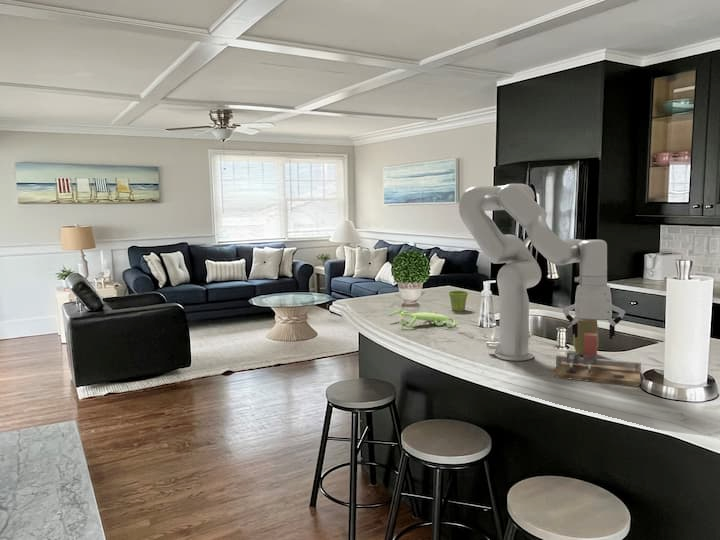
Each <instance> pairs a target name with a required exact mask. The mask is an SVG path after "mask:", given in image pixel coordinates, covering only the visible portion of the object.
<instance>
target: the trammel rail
mask: <svg viewBox="0 0 720 540" xmlns="http://www.w3.org/2000/svg"><path fill="white" fill-rule="evenodd" d="M562 362H567V363H570V371H572V368H573V363H574V364H578V363H582V364H584V356H582V357H581V356H580V355H579V352H577V351H574V350H567V351H566V355H561V354H559V355H558V354H557V355H556V357H555V365H556V366H557V365H561V364H562ZM597 365H604V366H615V367H626V368H635V372H640V373H641V372H642V371H641V370H642V363H641V362H640V361H627V360H618V359H617V360H616V359H615V360H614V359H605V358H597Z"/></svg>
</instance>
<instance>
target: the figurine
mask: <svg viewBox="0 0 720 540" xmlns="http://www.w3.org/2000/svg"><path fill="white" fill-rule="evenodd" d="M397 314H400V315H401V316H402V318H401V319H400V324H401V328H402V330H404V326H405V327H406V329H410V328H412V327H413V325H414V324H415V322H416V321H417V320H420V321H424V322H422V324H423V325H425V324H427V323H429V322H432V323H433V324H434V325H436V326H438V327H439V326H442V325H444V324H445V325H446V326H447V327H448V328H455V327H456V326H457V322H456V320H455V319H454V318H452V317H448V316H446V315H444V314H441V313H438V312H434V313H433V312H415V313H408V311H407V310H395V311H394V312H391V313H389V314H388V316H389V317H392V316H395V315H397ZM403 317H411V318H413V319H412V320H411V322H410V324H407V321H406V319H405V318H403ZM447 321H451V322H452V324H449V323H448V322H447ZM403 322H404V324H405V325H404V326H403ZM454 326H455V327H454Z"/></svg>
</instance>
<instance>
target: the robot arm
mask: <svg viewBox="0 0 720 540" xmlns="http://www.w3.org/2000/svg"><path fill="white" fill-rule="evenodd" d="M535 198H536V195H535V192H534V190H533V188H532V187H531V186H530V185H528V184H525V183H507V184H505V185H493V186H492V185H491V186H490V185H488V186H487V185H476V186H471V187H469V188H467V189H466V190H464V192H463V193H462V194H461V196H460V199H459V202H458V212H459V215H460V218H461V220H462V222H463V224H464V225H465V227H466V229H467V230H468V231H469V232H470V234H471V236H472V237H473V238H474V240H475V242H476V243H477V244H478V247H479V248H480V250H481V252H483V254H484V256H485V258H486V259H487V260H488V262H490V263H492V264H495V265H497V264H504V265H503V266H502V267H501V268H500V269H499V270H498V273H497V276H496V282H497V283H496V284H497V289H498V295H499V297H498V299H499V327H498V329H499V331H498V332H499V334H498V336H499V337H498V338H499V339H498V340H499V341H496V342H492V341H486V345H485V346H486V348H488V349H491V350H494V356H495V357H496V358H498V359H502V360H505V361H512V362H513V361H516V362H521V361H528V360H531V359H533V358H534V353H533V352H532V351H531V350H529V349H530V348H529V342H530V341H529V340H530V339H529V338H530V337H529V336H530V335H529V334H530V299H529V295H528V292H527V289H530V288H533V287H535V286H536V285H538V284H539V282H540V281H541V279H542V270H541V267H540V265H539V263H538V261H537V260H536V259H535V257H534V256H533V255H532V253H531V251H530V250H529V248H528V247H527V246H526V244H525V243H524V242H523V240H522V239H521V238H519V237H518V236H517V235H515V234H504V233H502V232H501V230H500V229H499V227H498V226H497V225H496V223H495V221H494V220H493V219H492V218H491V217H490V216H489V215H488V214H487V213H486V212H489V211H505V212H507V213H508V214H509V215H510V216H511V217H512V218H513V219H514V220H515V221H516V222H517V223H518V224H519V225H520V226H521V227H522V228H523V229H524V230H525V232H526V234H527V237H528V239H529V241H530V243H531V244H532V246H533V247H534V248H535V250H536V251H538V253H540V254H541V255H542V257H544V258H545V259H546V260H547V261H548V262H550V263H551V264H552V265H556V266H564V265H565V266H566V265H569V264H574V263H579V276H577V277H575V276H574V282H575V283H579V284H578V285H577V286H576V290H575V298H574V299H575V300H574V304H571V305H569V306H567V307H565V308H563V309H562V313H563V315H564V316H565V318H566V320H568V322H570V324H571V325H572V327H571V328H572V335H574V334H575V338H577V337H578V324H577V321H578V320H579V319H584V320H597V321H607V322H608V323H609V329H608V330H609V337H608V338H609V340H613V337H615V333H616V331H615V329H616V328H615V327H616V325H617V324H619V323H620V322H621V321H622V319H623V318H624V315H625V314H626V310H624V309H622V308H620V307H618V306H616V305H614V304H613V303H612V291H611V286H610V285H608V244H607V242H606V241H605V240H603V239H579V238H577V239H576V238H565V239H562V238H560V237H559V236H558V235H557V234H556V233H554V231H553V230H552V229H551V228H550V227H549V225H548V223H547V220H546V219H547V216H548V214H547V211H546V209H545V208H543V207H542V206H541V205H540V204H539V203H538V202H536V201H535ZM573 310H574V317H573V316H572V315H571V314H570V313H569V312H570V311H573ZM613 311H614V312H615V313H618V315H617V316H616V317H615V318H613Z"/></svg>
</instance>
